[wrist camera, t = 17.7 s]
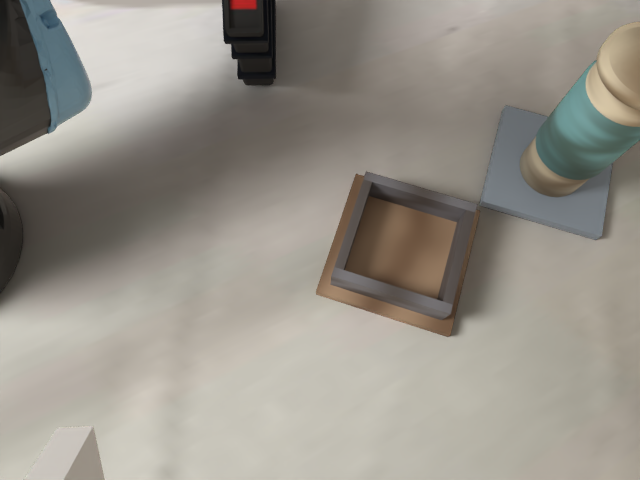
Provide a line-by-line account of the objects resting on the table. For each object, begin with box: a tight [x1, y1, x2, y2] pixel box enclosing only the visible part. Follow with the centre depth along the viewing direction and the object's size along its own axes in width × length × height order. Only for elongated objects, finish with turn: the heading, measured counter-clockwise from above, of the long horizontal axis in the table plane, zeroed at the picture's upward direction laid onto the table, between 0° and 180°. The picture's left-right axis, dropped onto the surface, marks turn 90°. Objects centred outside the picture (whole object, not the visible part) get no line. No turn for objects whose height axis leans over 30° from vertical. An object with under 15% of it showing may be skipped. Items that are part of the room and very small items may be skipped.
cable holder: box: [316, 172, 480, 337], centre depth 43 cm, size 12×12×4 cm
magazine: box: [222, 0, 276, 85], centre depth 47 cm, size 4×13×15 cm, turn 1°
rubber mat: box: [479, 105, 613, 240], centre depth 47 cm, size 11×11×1 cm
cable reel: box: [520, 22, 640, 197], centre depth 39 cm, size 7×7×15 cm
